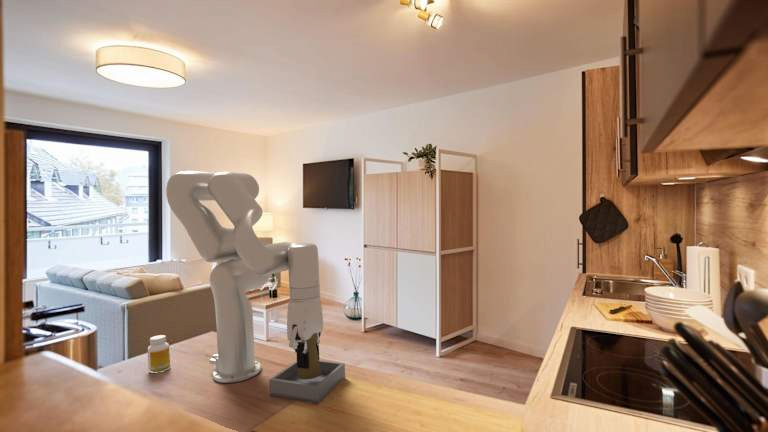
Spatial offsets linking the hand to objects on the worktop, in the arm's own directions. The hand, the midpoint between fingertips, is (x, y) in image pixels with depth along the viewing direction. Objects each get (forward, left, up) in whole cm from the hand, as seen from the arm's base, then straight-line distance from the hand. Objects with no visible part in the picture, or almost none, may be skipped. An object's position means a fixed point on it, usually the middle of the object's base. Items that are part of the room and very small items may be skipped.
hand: (308, 363), depth 96 cm
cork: (0, 0, -3) cm, 3 cm away
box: (0, 0, -6) cm, 6 cm away
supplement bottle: (-48, -4, -6) cm, 49 cm away
